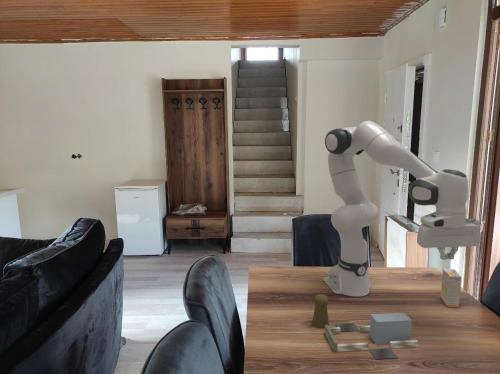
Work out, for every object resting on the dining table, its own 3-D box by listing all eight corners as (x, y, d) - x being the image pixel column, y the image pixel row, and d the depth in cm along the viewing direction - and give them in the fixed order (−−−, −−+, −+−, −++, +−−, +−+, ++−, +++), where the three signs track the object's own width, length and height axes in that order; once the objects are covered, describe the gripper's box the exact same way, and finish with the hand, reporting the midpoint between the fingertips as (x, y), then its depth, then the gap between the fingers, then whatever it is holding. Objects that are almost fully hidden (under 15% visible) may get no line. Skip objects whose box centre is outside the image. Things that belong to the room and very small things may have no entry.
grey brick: (403, 334, 126) (404, 312, 125) (410, 342, 121) (412, 320, 120) (369, 335, 125) (370, 314, 124) (375, 344, 120) (376, 321, 119)
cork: (310, 320, 135) (311, 292, 134) (326, 319, 136) (327, 291, 134) (314, 328, 129) (315, 299, 128) (331, 327, 130) (332, 299, 128)
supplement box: (459, 308, 144) (462, 276, 142) (446, 306, 145) (449, 275, 143) (452, 298, 152) (455, 268, 150) (440, 297, 153) (442, 268, 150)
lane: (394, 321, 134) (395, 314, 133) (426, 356, 113) (427, 347, 113) (320, 325, 132) (320, 317, 131) (339, 361, 111) (339, 352, 110)
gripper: (473, 216, 123) (469, 254, 126) (415, 217, 122) (413, 256, 124) (486, 220, 117) (482, 261, 119) (426, 222, 116) (423, 263, 118)
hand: (446, 259), depth 122 cm, fingers closed
